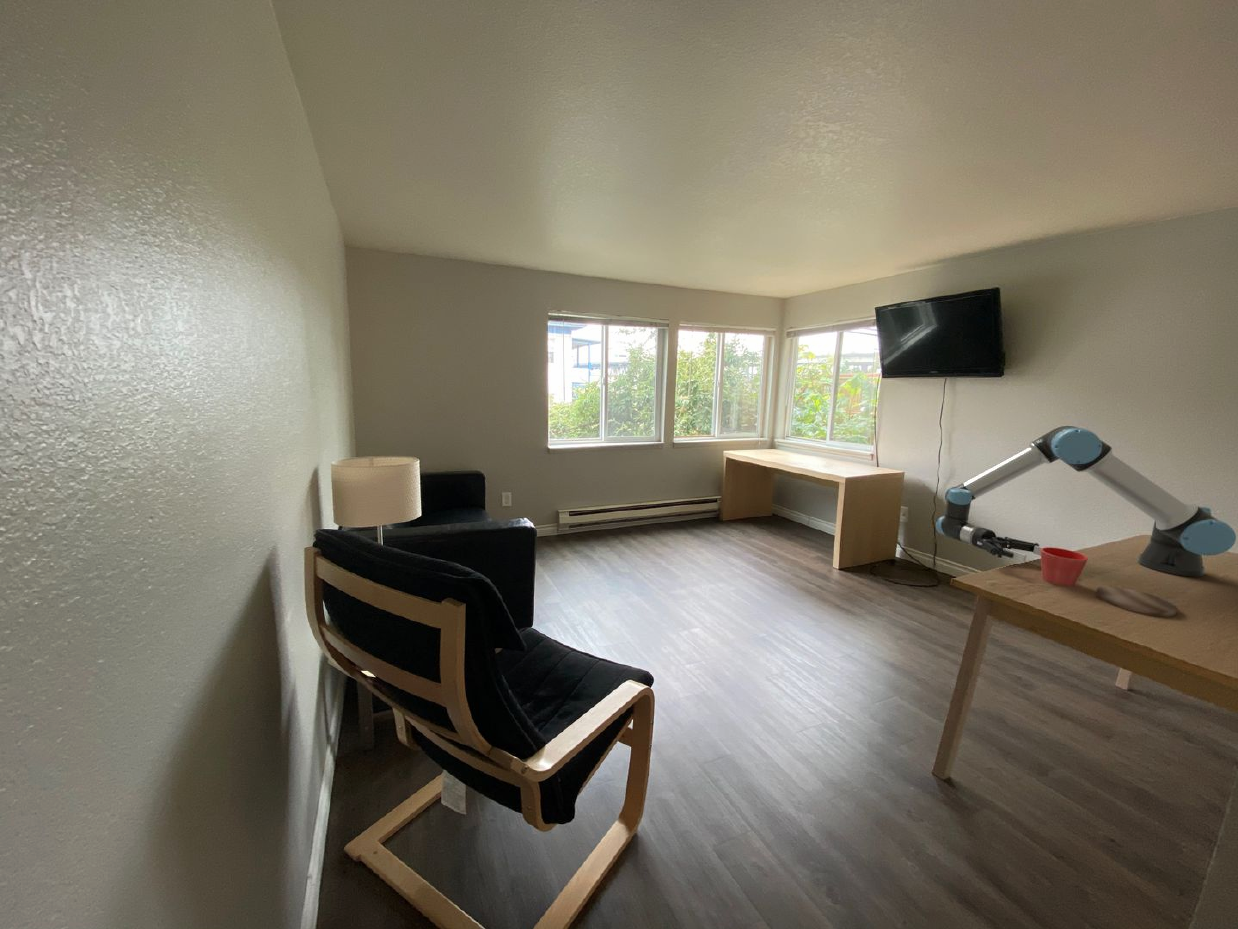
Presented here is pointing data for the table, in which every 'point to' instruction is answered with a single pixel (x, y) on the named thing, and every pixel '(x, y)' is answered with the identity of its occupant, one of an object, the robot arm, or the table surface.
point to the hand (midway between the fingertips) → (1040, 557)
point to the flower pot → (1061, 566)
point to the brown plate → (1136, 601)
